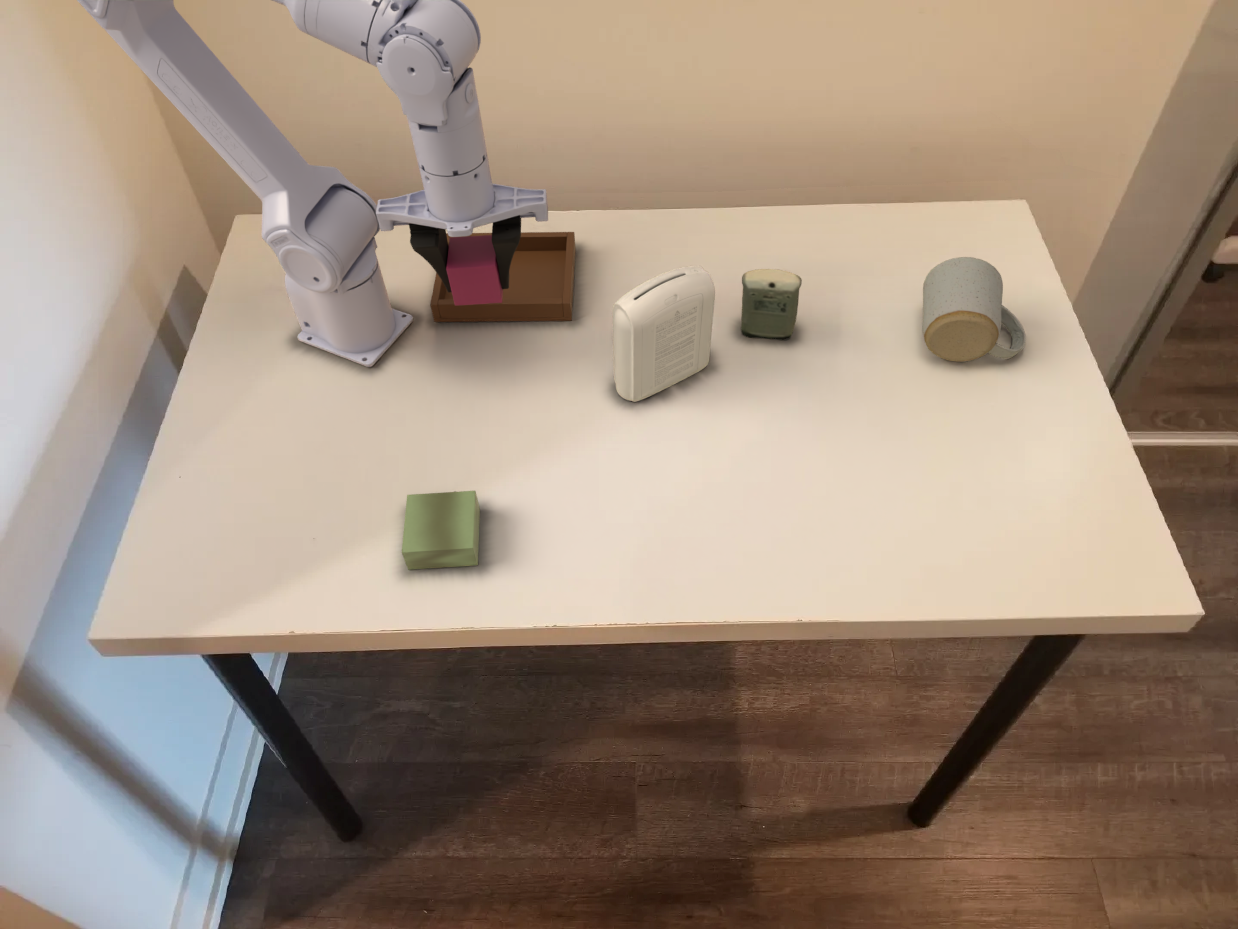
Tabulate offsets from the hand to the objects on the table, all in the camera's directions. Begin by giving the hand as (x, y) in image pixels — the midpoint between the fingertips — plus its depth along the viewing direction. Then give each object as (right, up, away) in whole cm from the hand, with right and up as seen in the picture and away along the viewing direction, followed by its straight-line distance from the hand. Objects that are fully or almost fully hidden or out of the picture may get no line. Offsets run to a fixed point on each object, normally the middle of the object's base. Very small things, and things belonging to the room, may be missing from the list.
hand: (478, 283), depth 87 cm
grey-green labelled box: (+28, -3, +10) cm, 30 cm away
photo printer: (+17, -8, +7) cm, 20 cm away
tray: (+1, +3, +15) cm, 16 cm away
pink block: (0, 0, 0) cm, 1 cm away
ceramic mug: (+49, -4, +9) cm, 50 cm away
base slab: (-2, -23, -5) cm, 24 cm away
